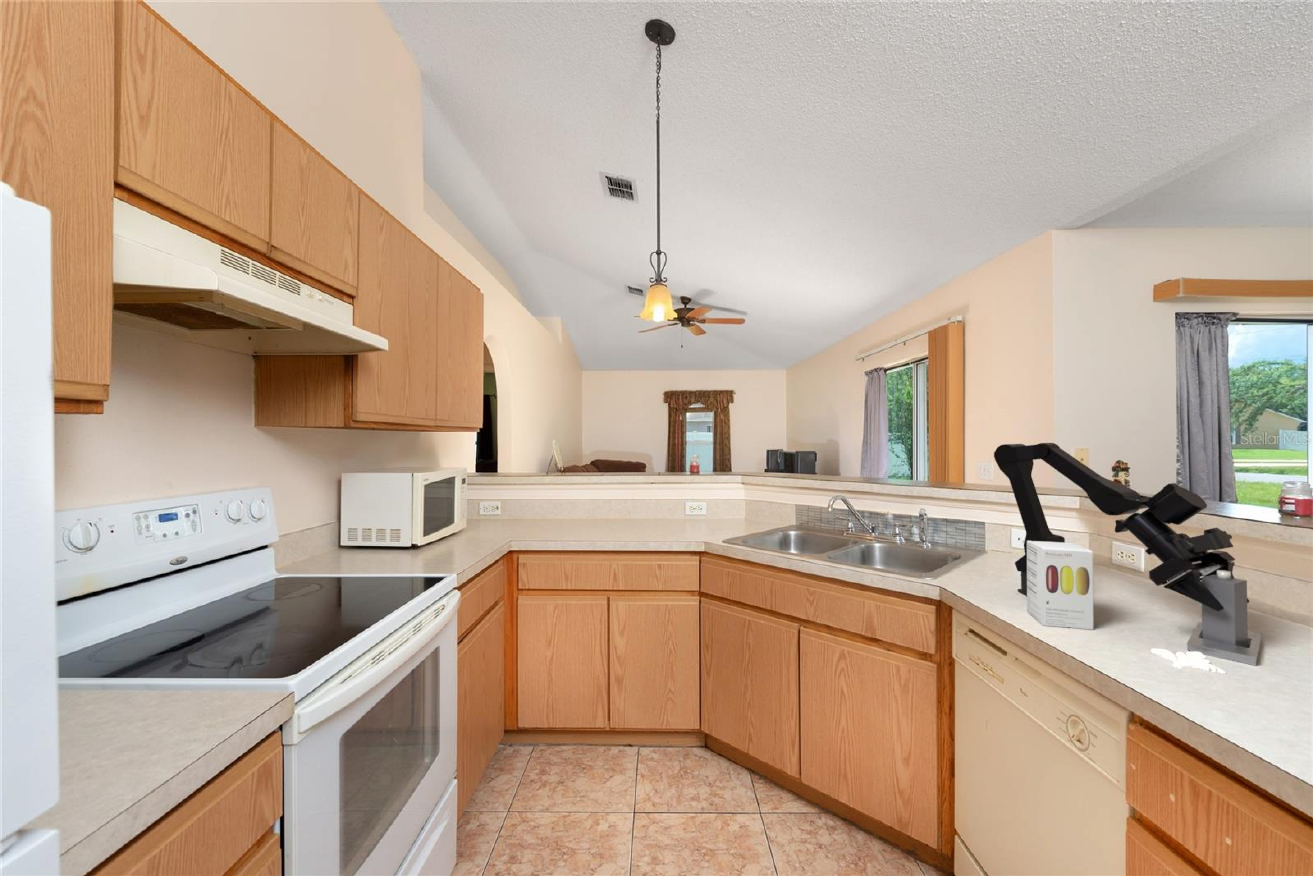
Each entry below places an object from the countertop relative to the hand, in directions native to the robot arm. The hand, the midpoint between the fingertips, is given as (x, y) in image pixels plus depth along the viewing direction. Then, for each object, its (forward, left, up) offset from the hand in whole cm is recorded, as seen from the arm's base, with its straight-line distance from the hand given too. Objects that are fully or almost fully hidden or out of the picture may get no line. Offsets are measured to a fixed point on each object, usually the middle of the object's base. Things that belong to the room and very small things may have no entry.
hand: (1234, 606), depth 96 cm
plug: (-1, +1, -8) cm, 8 cm away
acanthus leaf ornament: (-14, -7, -9) cm, 18 cm away
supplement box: (-23, +13, -8) cm, 28 cm away
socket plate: (-1, +1, -8) cm, 8 cm away
